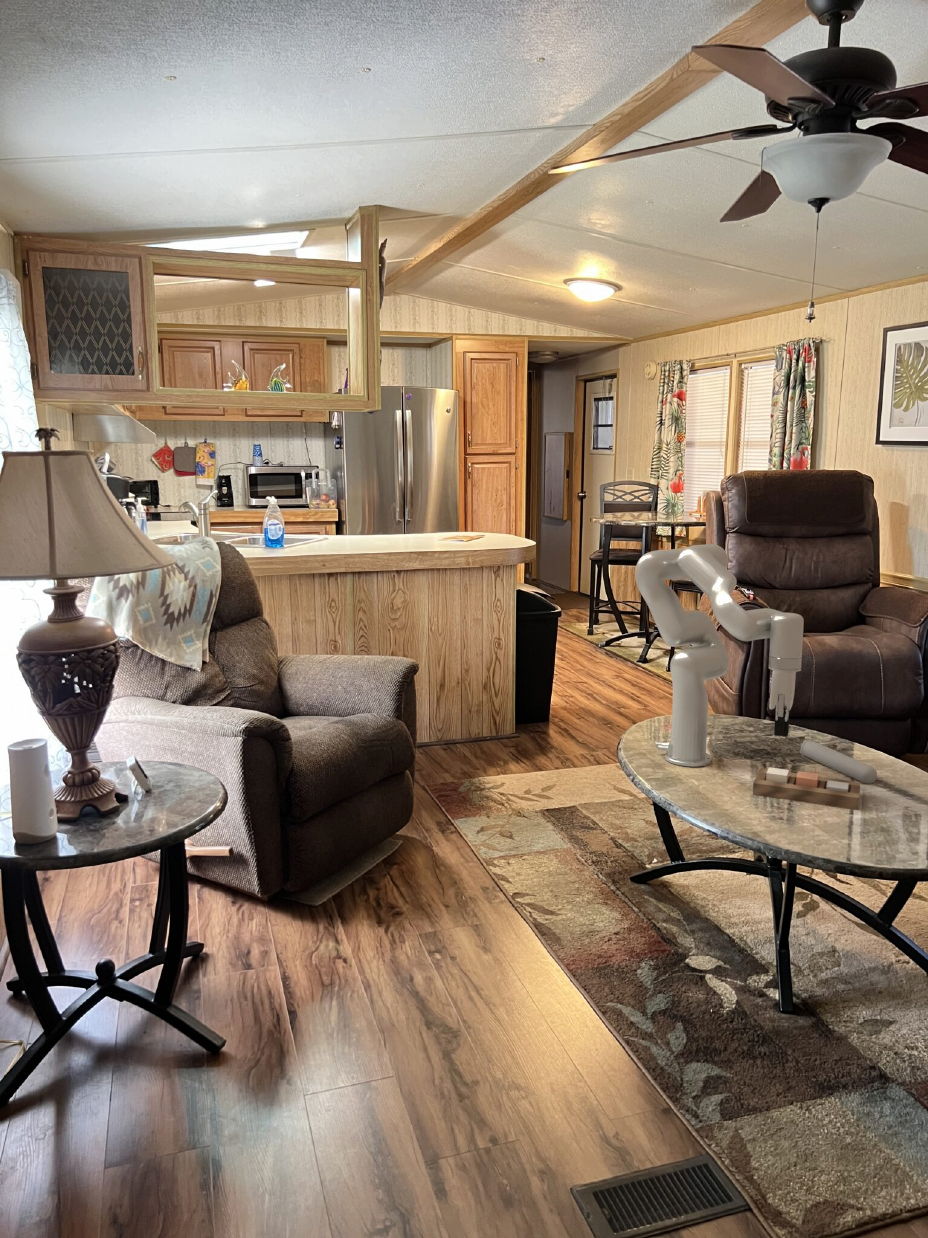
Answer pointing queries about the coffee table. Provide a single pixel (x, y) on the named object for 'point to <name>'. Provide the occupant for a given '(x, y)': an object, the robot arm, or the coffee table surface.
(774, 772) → the key left
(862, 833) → the coffee table surface
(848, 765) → the tube
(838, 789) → the key right
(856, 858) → the coffee table surface
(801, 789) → the wooden tray
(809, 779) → the key mid
